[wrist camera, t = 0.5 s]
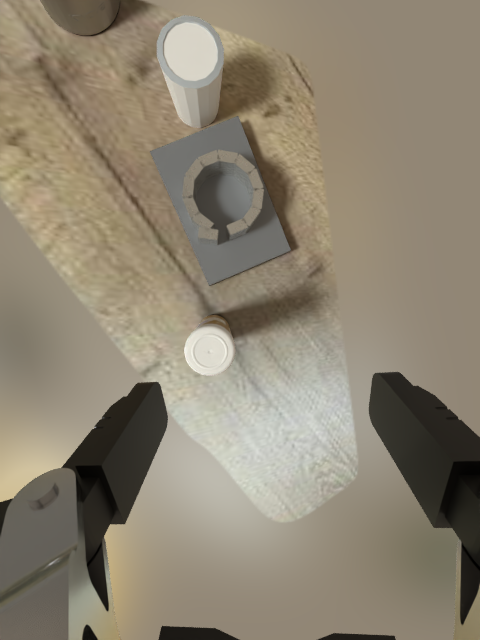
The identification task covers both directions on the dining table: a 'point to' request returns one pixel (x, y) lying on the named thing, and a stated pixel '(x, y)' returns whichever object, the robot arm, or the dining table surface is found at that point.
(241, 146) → the socket plate
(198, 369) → the sprinkles bottle
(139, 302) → the dining table surface
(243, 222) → the stone block collar
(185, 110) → the white tapered cup
